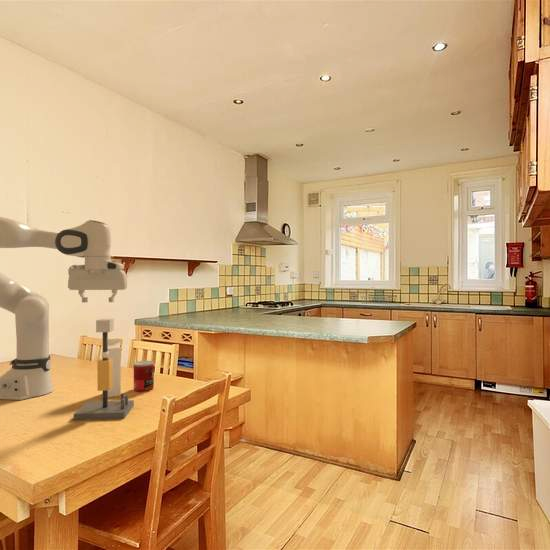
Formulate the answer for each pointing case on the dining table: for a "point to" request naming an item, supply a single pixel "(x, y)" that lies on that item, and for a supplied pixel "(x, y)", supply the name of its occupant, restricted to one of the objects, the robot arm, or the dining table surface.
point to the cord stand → (105, 407)
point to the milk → (115, 366)
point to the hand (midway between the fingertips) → (98, 302)
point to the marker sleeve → (105, 374)
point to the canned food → (143, 376)
